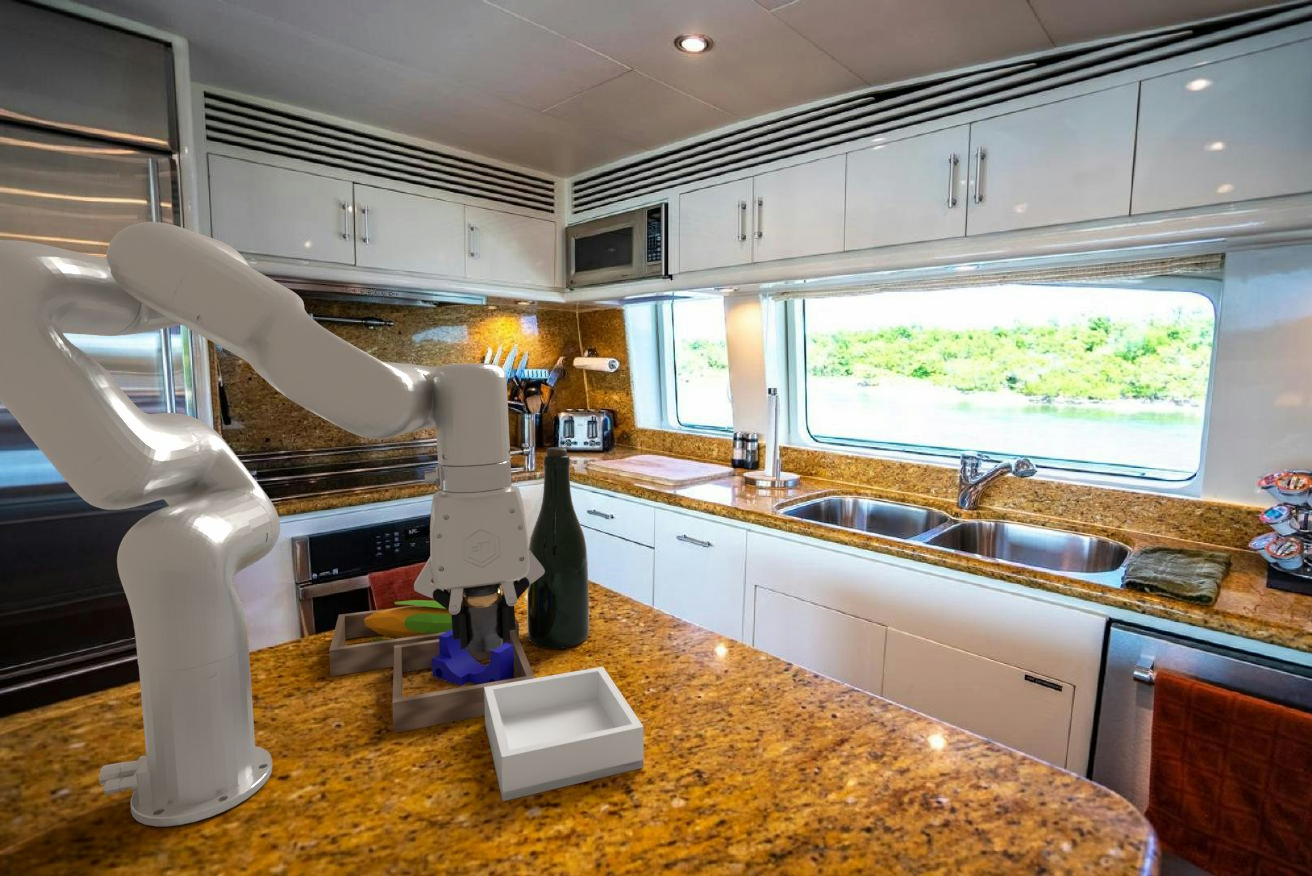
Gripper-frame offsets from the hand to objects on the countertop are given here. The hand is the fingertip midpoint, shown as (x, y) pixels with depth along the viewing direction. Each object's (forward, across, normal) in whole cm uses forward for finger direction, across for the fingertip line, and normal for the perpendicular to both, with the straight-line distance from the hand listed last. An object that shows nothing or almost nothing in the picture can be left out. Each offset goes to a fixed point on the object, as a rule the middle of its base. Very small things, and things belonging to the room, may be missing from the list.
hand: (484, 638), depth 70 cm
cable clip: (+16, 0, +24) cm, 29 cm away
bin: (+16, +8, +3) cm, 18 cm away
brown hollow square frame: (+16, -2, +22) cm, 27 cm away
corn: (+16, -8, +39) cm, 43 cm away
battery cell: (+1, 0, 0) cm, 1 cm away
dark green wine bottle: (+16, +15, +34) cm, 41 cm away
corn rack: (+15, -6, +40) cm, 43 cm away
